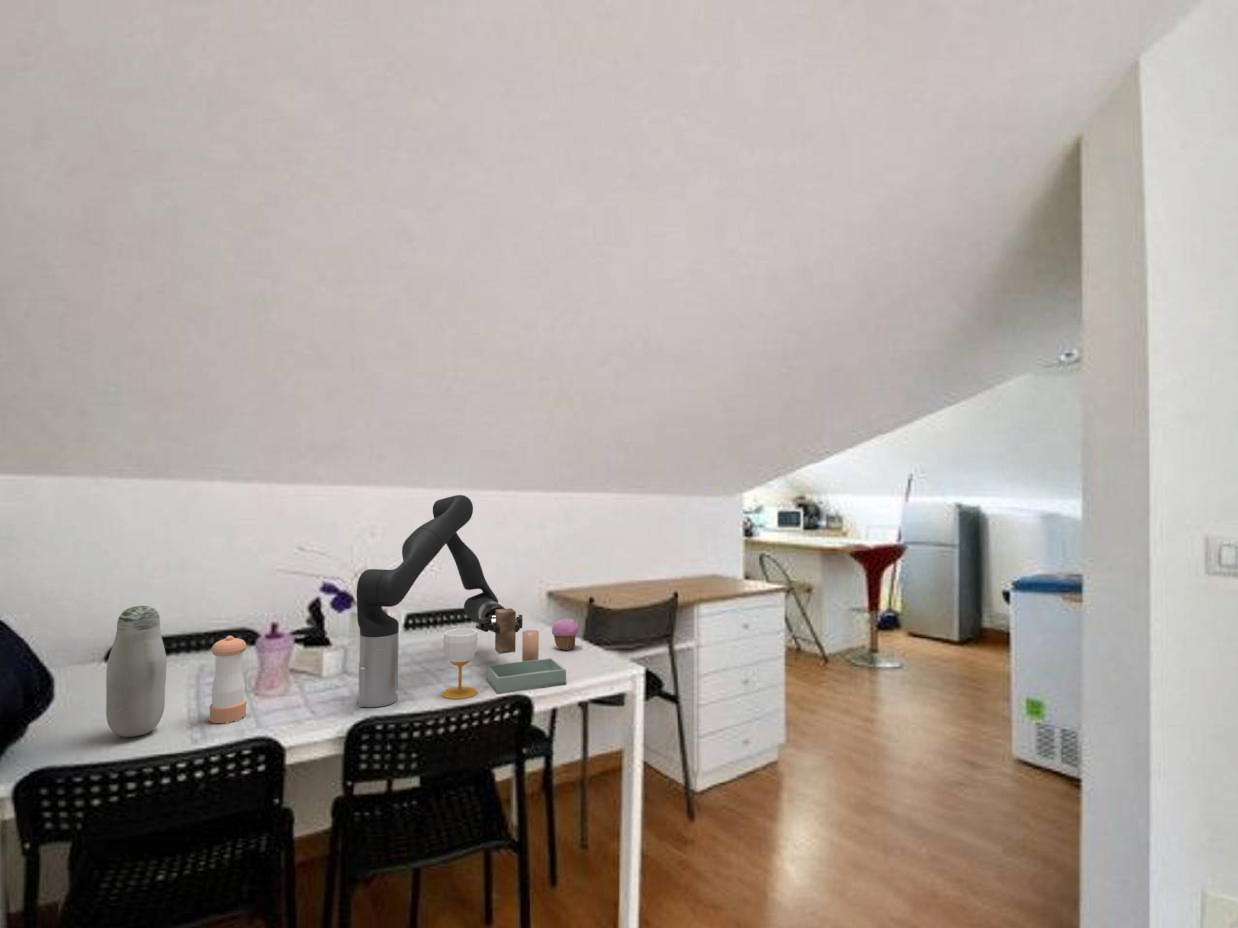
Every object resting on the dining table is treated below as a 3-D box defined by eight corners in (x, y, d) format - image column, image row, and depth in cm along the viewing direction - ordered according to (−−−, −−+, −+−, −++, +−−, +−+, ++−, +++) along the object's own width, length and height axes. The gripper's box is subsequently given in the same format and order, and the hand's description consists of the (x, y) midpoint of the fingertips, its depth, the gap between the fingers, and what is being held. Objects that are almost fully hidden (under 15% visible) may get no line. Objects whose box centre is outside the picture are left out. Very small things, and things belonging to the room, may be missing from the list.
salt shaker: (206, 717, 150) (207, 635, 150) (241, 709, 155) (242, 630, 155) (213, 726, 144) (215, 641, 145) (249, 718, 150) (251, 636, 150)
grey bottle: (93, 742, 136) (97, 610, 136) (137, 723, 146) (140, 600, 146) (134, 745, 134) (137, 612, 135) (175, 726, 144) (177, 602, 145)
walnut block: (499, 653, 172) (499, 613, 172) (495, 649, 176) (495, 609, 176) (515, 651, 174) (515, 611, 174) (511, 647, 178) (511, 608, 178)
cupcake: (583, 647, 213) (583, 617, 214) (569, 653, 206) (569, 622, 206) (560, 644, 218) (561, 614, 218) (546, 650, 210) (546, 619, 210)
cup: (440, 689, 171) (441, 629, 171) (474, 686, 174) (475, 626, 174) (443, 700, 162) (444, 637, 162) (479, 696, 165) (480, 634, 166)
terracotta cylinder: (524, 672, 186) (525, 634, 186) (520, 667, 190) (520, 630, 191) (540, 670, 188) (540, 633, 188) (535, 666, 192) (536, 629, 193)
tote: (497, 693, 168) (497, 678, 168) (486, 679, 179) (486, 665, 179) (565, 684, 176) (566, 669, 176) (551, 671, 187) (551, 658, 187)
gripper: (469, 605, 185) (481, 617, 170) (517, 601, 191) (533, 613, 176) (468, 630, 185) (481, 646, 170) (516, 626, 191) (533, 640, 176)
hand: (508, 629), depth 173 cm, fingers closed on walnut block, 4 cm apart
